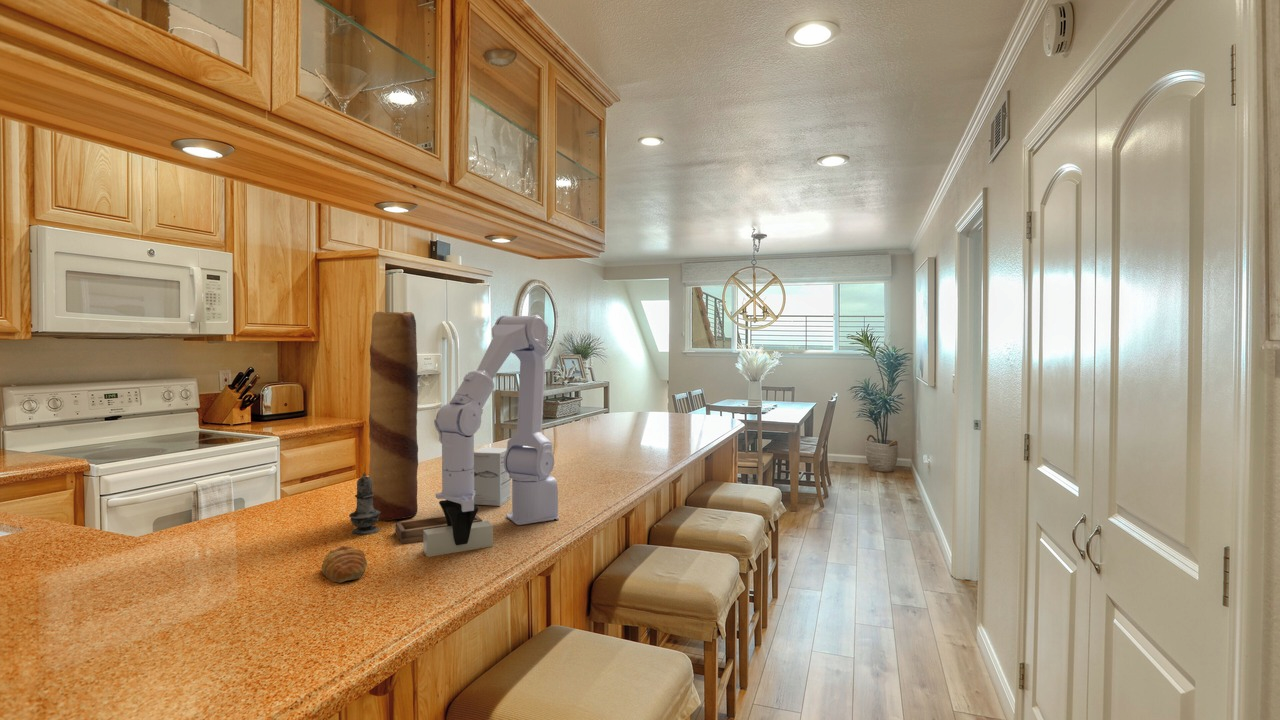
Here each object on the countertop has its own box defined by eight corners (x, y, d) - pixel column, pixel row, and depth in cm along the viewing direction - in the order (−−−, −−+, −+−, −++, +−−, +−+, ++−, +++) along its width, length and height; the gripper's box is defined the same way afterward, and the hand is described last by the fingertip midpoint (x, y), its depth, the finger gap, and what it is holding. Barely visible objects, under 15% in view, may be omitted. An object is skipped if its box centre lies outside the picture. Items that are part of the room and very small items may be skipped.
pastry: (372, 580, 102) (372, 557, 102) (326, 589, 99) (326, 565, 99) (362, 562, 110) (362, 541, 110) (319, 570, 107) (319, 548, 106)
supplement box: (470, 505, 148) (470, 451, 147) (483, 497, 155) (483, 446, 155) (500, 506, 146) (500, 452, 146) (512, 498, 154) (511, 447, 153)
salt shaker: (386, 527, 130) (385, 469, 130) (371, 536, 124) (370, 475, 124) (359, 526, 131) (358, 469, 130) (343, 535, 125) (342, 475, 125)
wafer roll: (426, 509, 144) (424, 312, 143) (409, 522, 134) (407, 310, 132) (380, 509, 144) (378, 312, 143) (360, 522, 134) (358, 310, 132)
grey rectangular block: (487, 541, 122) (487, 520, 122) (493, 546, 119) (493, 525, 118) (423, 551, 116) (423, 529, 116) (427, 557, 113) (427, 535, 113)
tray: (472, 521, 134) (472, 511, 134) (483, 531, 128) (483, 520, 127) (395, 532, 127) (395, 521, 127) (401, 543, 120) (401, 532, 120)
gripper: (428, 463, 121) (428, 533, 121) (444, 478, 108) (445, 556, 109) (464, 460, 125) (465, 528, 125) (485, 473, 112) (485, 549, 112)
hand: (458, 540), depth 117 cm, fingers closed on grey rectangular block, 3 cm apart
